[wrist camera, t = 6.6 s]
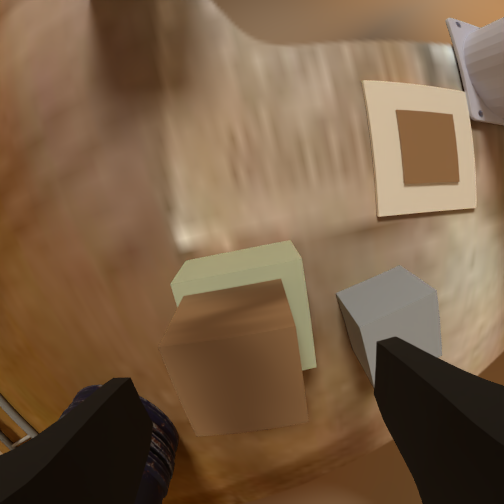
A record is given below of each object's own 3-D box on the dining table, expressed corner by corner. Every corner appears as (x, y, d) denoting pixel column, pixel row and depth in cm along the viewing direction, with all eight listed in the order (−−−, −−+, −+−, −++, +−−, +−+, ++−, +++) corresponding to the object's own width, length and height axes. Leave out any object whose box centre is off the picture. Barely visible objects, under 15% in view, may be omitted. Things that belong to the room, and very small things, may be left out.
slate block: (399, 264, 18) (436, 290, 13) (410, 322, 19) (442, 355, 14) (335, 292, 18) (359, 327, 14) (352, 348, 19) (374, 389, 15)
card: (462, 92, 14) (466, 91, 14) (473, 207, 16) (478, 208, 16) (361, 81, 15) (364, 79, 14) (376, 215, 17) (380, 217, 16)
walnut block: (280, 278, 14) (295, 326, 9) (294, 359, 15) (309, 422, 10) (183, 295, 14) (158, 347, 9) (207, 373, 15) (196, 436, 10)
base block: (289, 239, 17) (301, 258, 13) (304, 330, 19) (316, 367, 15) (186, 259, 17) (170, 283, 14) (211, 347, 19) (204, 385, 15)
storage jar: (80, 362, 19) (-21, 510, 5) (197, 419, 20) (168, 599, 6) (68, 428, 21) (8, 541, 7) (161, 472, 22) (133, 598, 8)
